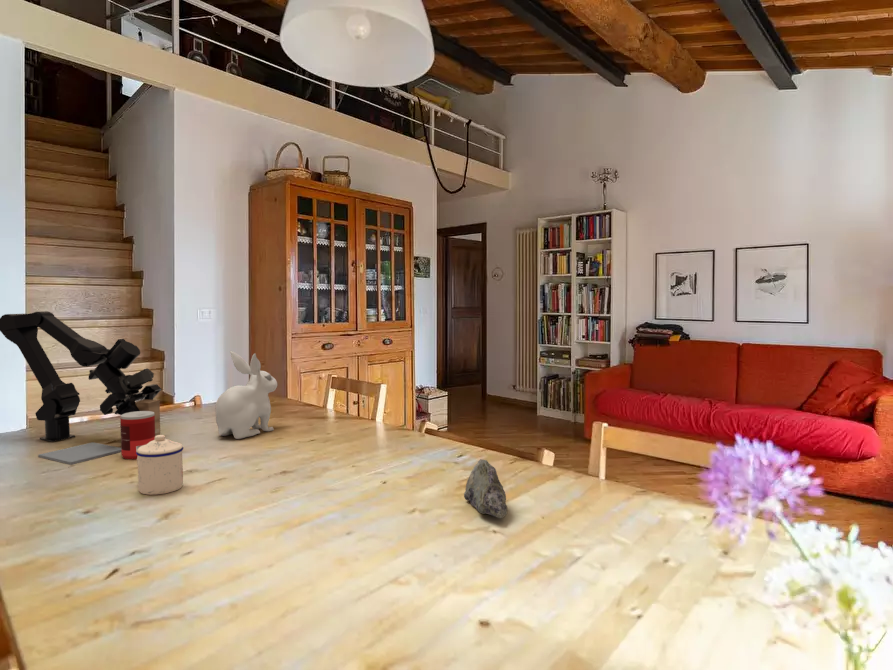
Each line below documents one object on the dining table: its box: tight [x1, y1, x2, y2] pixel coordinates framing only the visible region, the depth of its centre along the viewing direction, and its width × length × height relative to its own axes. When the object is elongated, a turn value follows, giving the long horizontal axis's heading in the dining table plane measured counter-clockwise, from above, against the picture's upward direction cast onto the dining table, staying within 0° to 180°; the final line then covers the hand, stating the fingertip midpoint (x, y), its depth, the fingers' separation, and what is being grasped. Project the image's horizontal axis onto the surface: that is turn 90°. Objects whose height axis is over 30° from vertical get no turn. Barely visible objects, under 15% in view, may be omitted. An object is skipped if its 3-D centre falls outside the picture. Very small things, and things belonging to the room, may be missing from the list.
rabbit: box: [215, 350, 278, 440], centre depth 171 cm, size 12×21×25 cm, turn 148°
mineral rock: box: [463, 458, 508, 519], centre depth 111 cm, size 13×11×10 cm
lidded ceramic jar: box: [136, 434, 184, 496], centre depth 123 cm, size 12×9×12 cm
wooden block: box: [135, 399, 161, 436], centre depth 159 cm, size 5×5×12 cm
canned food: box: [119, 411, 155, 460], centre depth 147 cm, size 8×8×11 cm
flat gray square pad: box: [37, 441, 121, 466], centre depth 148 cm, size 14×14×1 cm
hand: (151, 420), depth 159 cm, fingers closed on wooden block, 5 cm apart
